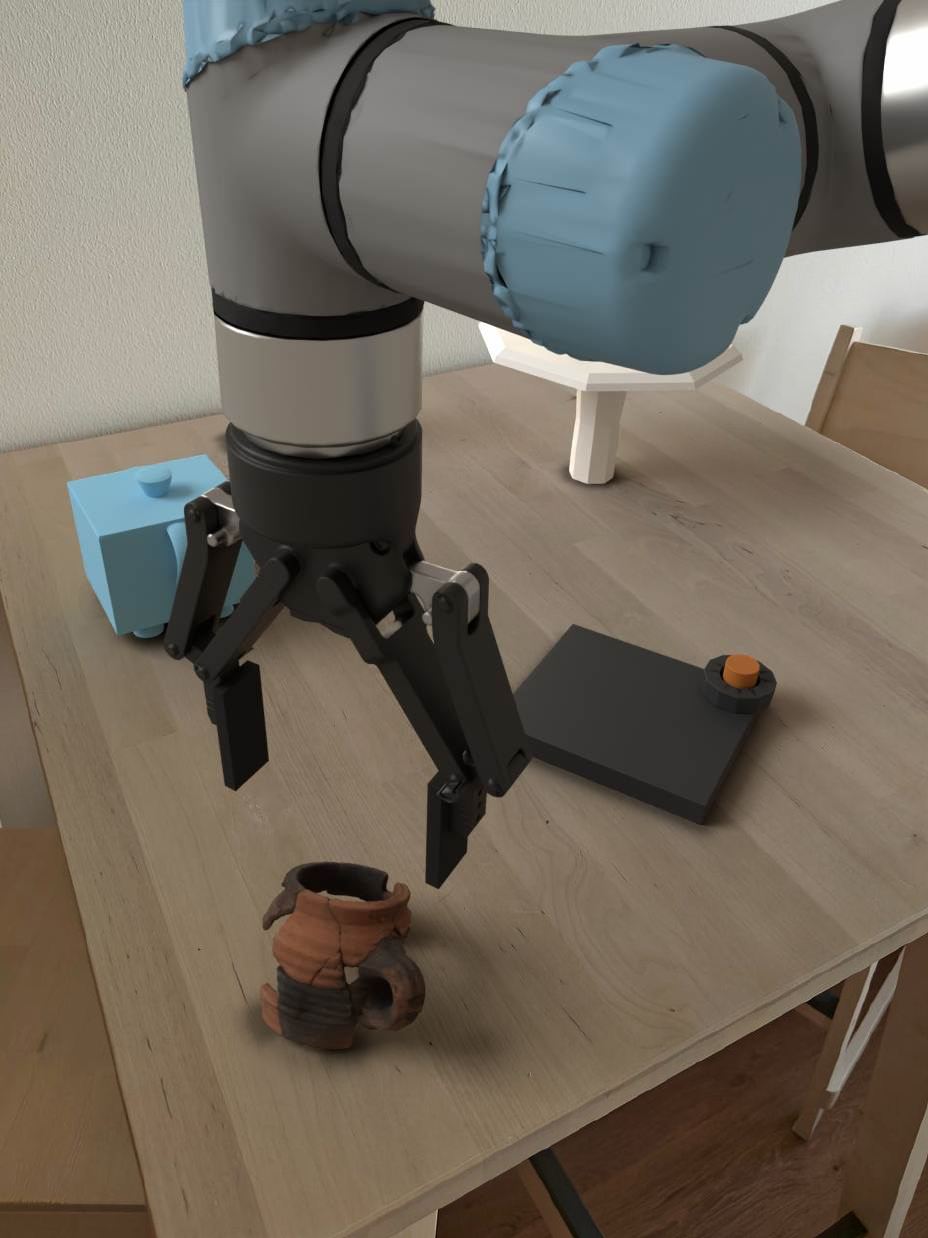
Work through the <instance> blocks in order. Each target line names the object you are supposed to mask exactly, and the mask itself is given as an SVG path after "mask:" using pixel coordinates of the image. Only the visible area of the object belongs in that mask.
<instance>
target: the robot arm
mask: <svg viewBox="0 0 928 1238" xmlns="http://www.w3.org/2000/svg"><path fill="white" fill-rule="evenodd" d="M181 1H182V2H181V3H182V17H183V31H184V47H185V65H184V66H183V67H182V76H181V84H182V89H183V90H184V93H185V94H186V100H187V107H188V117H189V125H190V134H191V142H192V149H193V150H192V151H193V159H194V167H195V175H196V182H197V192H198V199H199V208H200V216H201V217H200V218H201V223H202V224H201V225H202V232H203V240H204V241H203V242H204V249H205V257H206V265H207V275H208V282H209V286H210V290H211V301H212V303H211V305H212V306H211V308H212V318H213V329H214V340H215V350H216V351H215V352H216V362H217V363H216V365H217V373H218V384H219V394H220V395H219V396H220V406H221V411H222V415H223V416H224V417H225V418H226V419H227V420H228V421H229V423H228V424H227V426H226V428H225V432H224V433H225V436H224V438H225V447H226V455H227V456H226V457H227V467H228V475H229V477H228V478H229V480H228V481H225V482H223V483H221V484H220V485H218V486H216V487H214V488H212V489H211V490H209V491H207V492H206V493H204V494H202V495H200V496H199V497H197V498H195V499H194V500H192V501H190V502H188V503H187V504H186V505H185V506H184V518H185V526H186V535H187V544H188V545H187V549H186V553H185V557H184V561H183V565H182V570H181V574H180V578H179V582H178V586H177V590H176V594H175V598H174V603H173V607H172V611H171V615H170V619H169V622H167V624H168V625H167V628H166V631H165V636H164V640H163V648H164V650H165V652H166V654H167V655H168V656H169V657H170V658H171V659H173V660H175V661H181V660H182V659H184V658H185V659H187V661H189V662H191V663H192V664H193V671H194V673H195V675H196V676H197V678H198V679H199V680H200V681H201V682H202V685H203V691H204V698H205V705H206V710H207V711H206V713H207V717H208V718H209V721H210V723H211V724H212V725H214V726H216V733H217V739H218V746H219V755H220V761H221V768H222V769H221V770H222V775H223V777H222V778H223V783H224V787H226V788H228V789H231V790H233V791H235V792H237V791H238V790H239V789H240V788H241V787H243V785H245V784H246V783H247V782H248V781H249V780H250V779H251V778H252V777H253V776H254V775H256V774H257V773H258V772H259V771H260V770H261V769H262V768H263V767H264V766H265V765H267V763H269V762H270V755H269V746H268V737H267V726H266V725H267V724H266V716H265V706H264V695H263V685H262V676H261V664H258V663H256V662H253V661H251V660H249V659H247V660H246V661H244V662H243V663H242V664H240V660H241V659H243V658H244V657H245V656H246V655H248V654H249V653H250V652H251V651H253V650H254V649H255V648H254V645H255V644H256V643H257V642H258V641H259V639H260V638H261V636H262V635H263V634H264V633H265V631H267V629H268V628H269V627H270V625H272V623H273V622H274V621H275V619H276V618H277V617H278V616H279V615H280V613H281V612H282V611H283V609H284V608H287V609H288V610H289V615H290V617H293V618H295V619H297V620H300V621H303V622H308V623H315V624H320V625H321V626H323V627H325V628H326V629H328V630H329V631H331V632H332V633H334V634H336V635H338V636H342V637H344V638H347V639H350V641H351V642H352V644H353V646H354V647H355V649H356V651H357V653H358V655H359V656H360V658H361V659H362V660H363V662H364V663H366V664H367V665H374V666H376V667H377V669H378V671H379V673H380V674H381V676H382V677H383V680H384V681H385V682H386V685H387V686H388V688H389V689H390V692H391V693H392V695H393V696H394V698H395V700H396V701H397V704H398V705H399V707H400V708H401V710H402V711H403V713H404V715H405V716H406V718H407V720H408V722H409V724H410V725H411V727H412V728H413V730H414V733H416V735H417V737H418V738H419V740H420V742H421V744H422V746H423V747H424V749H425V750H426V752H427V754H428V755H429V757H430V759H431V761H432V763H433V764H434V766H435V768H436V769H437V772H436V773H435V775H433V776H432V778H431V779H430V780H429V781H428V783H427V786H426V787H427V788H426V790H427V791H426V793H427V794H426V830H425V831H426V834H425V839H426V840H425V873H424V875H425V876H424V877H425V878H424V884H426V885H429V886H430V887H433V888H435V889H437V890H440V889H441V888H442V886H443V885H444V883H445V882H446V881H447V879H448V878H449V877H450V876H451V874H452V873H453V871H455V869H456V868H457V867H458V865H459V863H460V862H461V861H462V860H463V858H464V857H465V856H466V854H467V853H468V843H469V842H468V841H469V836H470V835H471V834H472V832H473V831H474V830H475V828H476V827H477V826H478V824H479V823H480V821H482V819H483V818H484V816H485V815H486V812H487V798H488V795H489V796H491V797H494V798H497V799H498V798H503V797H505V796H506V794H507V793H508V791H510V789H511V788H512V787H513V785H514V784H515V782H516V781H517V780H518V779H519V778H520V776H521V774H523V772H524V771H525V769H526V768H527V767H528V766H529V765H530V763H531V761H532V759H533V756H532V755H531V751H530V748H529V744H528V741H527V738H526V735H525V732H524V728H523V725H522V722H521V719H520V716H519V712H518V709H517V706H516V703H515V700H514V696H513V693H514V692H513V690H512V687H511V684H510V681H509V678H508V675H507V671H506V668H505V664H504V661H503V658H502V655H501V653H500V649H499V645H498V642H497V639H496V636H495V632H494V630H493V627H492V623H491V619H490V616H489V600H490V599H489V598H490V596H489V594H490V593H489V592H490V577H489V573H488V571H487V569H486V568H485V567H484V566H483V565H481V564H480V563H478V562H474V561H471V562H468V563H466V564H465V565H464V566H463V567H461V568H460V569H459V570H458V571H457V570H454V569H450V568H448V567H444V566H441V565H437V564H434V563H431V562H429V561H426V560H425V559H426V558H425V557H424V553H423V551H422V550H421V547H420V545H419V542H418V539H417V535H416V532H417V531H416V529H417V523H418V518H419V514H420V509H421V505H422V493H423V491H422V489H423V487H422V486H423V485H422V484H423V481H422V480H423V428H422V425H421V423H420V421H419V420H418V419H417V417H418V415H419V413H420V412H421V410H422V409H423V407H422V406H423V373H424V372H423V370H424V369H423V367H424V363H423V362H424V318H425V317H424V315H425V314H424V313H425V307H424V306H425V303H429V304H431V305H434V306H437V307H438V308H442V309H445V310H447V311H451V312H452V313H453V312H454V313H456V314H458V315H461V316H465V317H466V318H470V319H473V320H475V321H478V322H479V323H480V322H483V323H486V324H489V325H491V326H494V327H497V328H500V329H502V330H505V331H508V332H511V333H513V334H516V335H519V336H522V337H524V338H527V339H530V340H531V341H532V342H533V343H534V344H537V345H540V346H544V347H545V348H546V349H547V350H548V351H551V352H553V353H555V354H558V355H563V354H567V355H569V356H570V357H572V358H574V359H577V360H579V361H590V362H604V363H608V364H612V365H617V366H621V367H625V368H629V369H633V370H637V371H641V372H646V373H650V374H656V375H675V374H683V373H687V372H690V371H693V370H695V369H698V368H700V367H702V366H705V365H706V364H708V363H709V362H711V361H713V360H714V359H716V358H717V357H718V356H720V355H721V354H722V353H724V352H725V351H726V350H727V349H728V347H729V346H730V345H731V343H732V344H733V341H734V339H735V338H736V334H737V332H738V330H739V327H740V326H742V325H745V324H749V323H750V322H751V321H752V320H753V319H754V318H755V316H756V314H757V313H758V311H759V310H760V309H761V307H762V306H763V304H764V303H765V300H766V299H767V297H768V295H769V293H770V291H771V289H772V287H773V285H774V282H775V280H776V278H777V276H778V273H779V271H780V268H781V266H782V264H783V261H784V259H786V258H790V257H793V256H798V255H804V254H810V253H815V252H816V253H817V252H822V251H829V250H838V249H845V248H852V247H854V248H855V247H860V246H861V247H862V246H868V245H877V244H884V243H891V242H896V241H904V240H911V239H914V238H918V237H926V236H928V0H837V1H834V2H831V3H827V4H824V5H821V6H817V7H814V8H810V9H806V10H804V11H801V12H797V13H793V14H789V15H785V16H781V17H777V18H771V19H767V20H762V21H755V22H748V23H747V22H746V23H740V24H733V25H707V26H698V27H697V26H696V27H687V28H671V29H670V28H669V29H655V30H654V29H653V30H642V31H640V30H639V31H629V32H628V31H627V32H616V33H615V32H614V33H601V34H588V35H565V34H564V35H562V34H545V33H534V32H526V31H513V30H503V29H492V28H481V27H470V26H459V25H455V24H452V23H449V22H444V21H439V20H438V19H437V18H435V16H436V12H435V11H436V10H437V9H436V7H435V6H434V5H433V3H432V1H431V0H181ZM242 541H243V542H244V543H245V545H246V547H247V548H248V550H249V552H250V553H251V555H252V556H253V558H254V562H255V563H256V565H257V566H258V568H259V571H258V574H257V576H255V577H256V579H255V580H254V581H253V583H252V584H251V585H250V587H249V588H248V589H247V591H246V592H245V593H244V595H243V596H242V597H241V599H240V603H238V605H237V607H236V608H235V609H234V611H233V612H232V613H231V614H230V615H229V617H228V619H227V620H226V622H224V624H223V625H222V626H221V628H220V629H219V630H218V626H219V623H220V620H221V618H220V616H221V613H222V610H223V606H224V603H225V599H226V596H227V593H228V589H229V586H230V582H231V579H232V576H233V572H234V569H235V565H236V562H237V559H238V555H239V552H240V548H241V545H242ZM419 599H420V600H421V602H422V604H423V606H422V604H421V602H420V600H419ZM391 612H392V613H393V616H394V620H393V622H392V623H391V624H390V625H389V626H388V627H387V628H385V629H384V630H383V631H382V632H381V631H380V629H379V628H378V624H380V623H381V622H382V621H383V620H385V618H387V617H388V616H389V614H391ZM428 626H429V627H431V631H432V633H431V635H432V638H431V636H430V634H429V632H428ZM217 630H218V632H217Z"/></svg>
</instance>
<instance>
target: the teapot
mask: <svg viewBox="0 0 928 1238" xmlns="http://www.w3.org/2000/svg"><path fill="white" fill-rule="evenodd" d="M225 481H229V480H228V479H227V477H226V476H225V475H224V474H223V473H222V471H221V470H220V469H219V468H218V467H217V466H216V464H215V463H214V462H213V461H212V460H211V458H210V457H209V456H208V455H207V454H206V453H204V454H200V455H192V456H189V457H184V458H183V457H182V458H178V459H174V460H168V461H163V462H158V463H153V464H147V465H138V466H133V467H130V468H127V469H124V470H118V471H114V472H108V473H104V474H99V475H94V476H88V477H84V478H80V479H75V480H69V481H67V483H66V485H67V491H68V496H69V501H70V505H71V510H72V515H73V519H74V525H75V530H76V533H77V538H78V544H79V548H80V549H79V550H80V552H81V558H82V563H83V567H84V572H85V576H86V578H87V580H88V582H89V584H90V586H91V588H92V590H93V591H94V594H95V595H96V597H97V599H98V601H99V603H100V605H101V607H102V609H103V611H104V612H105V614H106V616H107V618H108V620H109V622H110V624H111V626H112V628H113V630H114V631H115V633H116V636H121V635H125V634H129V633H130V634H131V633H132V632H133V635H135V636H136V637H138V638H142V639H148V638H149V639H150V638H154V637H157V636H159V635H160V634H161V633H162V632H163V631H164V629H165V624H168V623H169V619H170V615H171V611H172V607H173V603H174V598H175V594H176V590H177V586H178V582H179V578H180V574H181V570H182V565H183V561H184V557H185V553H186V549H187V545H188V544H187V535H186V526H185V518H184V506H185V505H186V504H187V503H188V502H190V501H192V500H194V499H195V498H197V497H199V496H200V495H202V494H204V493H206V492H207V491H209V490H211V489H212V488H214V487H216V486H218V485H220V484H221V483H223V482H225ZM256 577H257V576H256V569H255V560H254V558H253V556H252V555H251V553H250V552H249V550H248V548H247V547H246V545H245V543H244V542H243V541H242V545H241V548H240V552H239V555H238V559H237V562H236V565H235V569H234V572H233V576H232V579H231V582H230V586H229V589H228V593H227V596H226V599H225V603H224V606H223V610H222V613H221V616H220V619H222V618H227V617H228V616H229V617H230V616H231V615H232V614H233V612H234V611H235V607H234V605H236V604H240V603H241V602H240V599H241V597H242V596H243V595H244V593H245V592H246V591H247V589H248V588H249V587H250V585H251V584H252V583H253V581H254V580H255V579H256Z"/></svg>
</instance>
